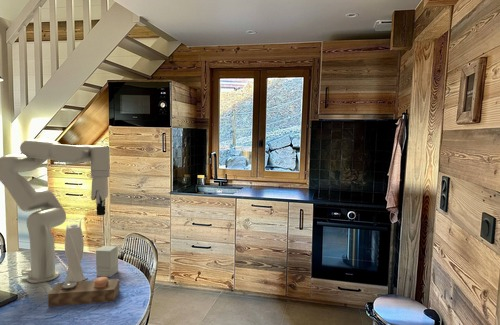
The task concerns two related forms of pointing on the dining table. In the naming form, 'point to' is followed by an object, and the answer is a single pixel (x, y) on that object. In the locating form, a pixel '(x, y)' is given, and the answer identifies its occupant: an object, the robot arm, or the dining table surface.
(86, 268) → the dining table surface
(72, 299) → the plug block
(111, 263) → the supplement box
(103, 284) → the terracotta plug
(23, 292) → the dining table surface
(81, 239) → the skyscraper
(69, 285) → the plug
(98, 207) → the robot arm
